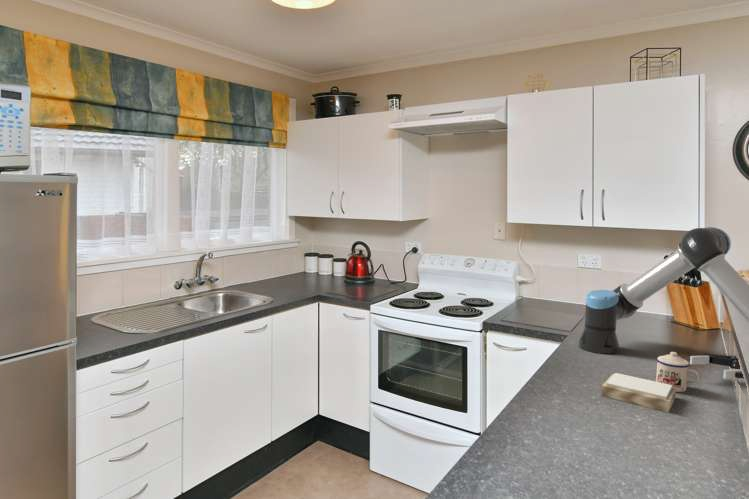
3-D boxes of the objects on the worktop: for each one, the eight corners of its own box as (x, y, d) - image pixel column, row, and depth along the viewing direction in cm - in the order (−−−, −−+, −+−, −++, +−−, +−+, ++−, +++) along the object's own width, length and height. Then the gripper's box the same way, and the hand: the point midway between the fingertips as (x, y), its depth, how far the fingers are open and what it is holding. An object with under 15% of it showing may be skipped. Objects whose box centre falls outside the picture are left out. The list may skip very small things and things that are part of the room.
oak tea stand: (601, 395, 152) (602, 383, 152) (612, 383, 163) (613, 371, 163) (668, 412, 141) (669, 398, 141) (675, 397, 152) (676, 385, 152)
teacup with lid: (651, 387, 160) (654, 352, 159) (658, 380, 167) (661, 346, 166) (694, 397, 152) (698, 361, 151) (700, 390, 159) (703, 354, 158)
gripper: (800, 391, 152) (739, 393, 149) (731, 364, 176) (677, 365, 173) (803, 367, 151) (741, 368, 148) (733, 343, 175) (679, 344, 172)
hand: (706, 367), depth 161 cm, fingers open, 13 cm apart
